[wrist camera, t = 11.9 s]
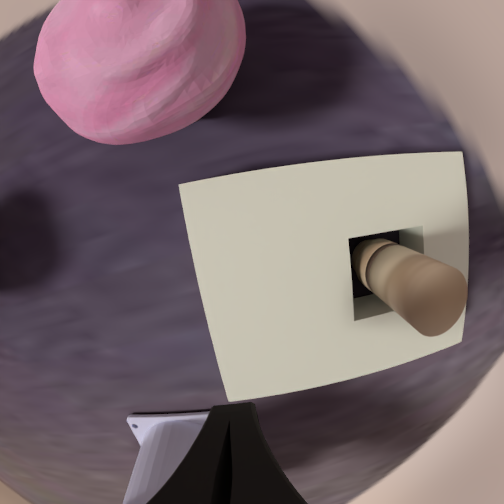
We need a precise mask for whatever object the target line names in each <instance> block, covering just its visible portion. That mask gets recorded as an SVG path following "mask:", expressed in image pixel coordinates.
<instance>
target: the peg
mask: <svg viewBox="0 0 504 504" xmlns="http://www.w3.org/2000/svg"><path fill="white" fill-rule="evenodd" d="M351 261H352V266H353V269H354V270H355V272H356V274H357V277H358V279H359V280H360V282H361V283H362V284H363V285H364V286H366V287H367V288H368V289H369V290H370V291H372V292H373V293H374V294H375V295H376V296H378V297H379V298H380V299H381V300H382V301H383V302H385V303H386V304H387V305H388V306H389V307H390V308H392V309H393V310H394V311H395V312H396V313H397V314H399V315H400V316H401V317H402V318H403V319H404V320H406V321H407V322H408V323H409V324H410V325H411V326H412V327H414V328H415V329H416V330H417V331H418V332H419V333H420V334H422V335H424V336H428V337H434V336H438V335H441V334H443V333H445V332H446V331H448V330H449V329H450V328H451V327H452V326H453V325H454V324H455V323H456V322H457V321H458V319H459V318H460V316H461V314H462V312H463V310H464V308H465V305H466V301H467V294H468V289H467V282H466V279H465V277H464V275H463V274H462V273H461V272H460V271H459V270H458V269H456V268H454V267H452V266H449V265H447V264H445V263H442V262H440V261H438V260H435V259H433V258H431V257H428V256H426V255H424V254H421V253H419V252H416V251H414V250H412V249H409V248H407V247H404V246H402V245H399V244H397V243H394V242H392V241H389V240H386V239H375V240H372V239H368V240H364V241H362V242H360V243H359V244H358V245H357V246H356V247H355V249H354V251H353V254H352V259H351Z"/></svg>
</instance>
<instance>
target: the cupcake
mask: <svg viewBox="0 0 504 504" xmlns="http://www.w3.org/2000/svg"><path fill="white" fill-rule="evenodd" d="M245 43H246V31H245V21H244V17H243V13H242V10H241V7H240V5H239V3H238V0H60V1H59V2H58V3H57V5H56V6H55V7H54V8H53V10H52V11H51V13H50V14H49V15H48V17H47V19H46V21H45V23H44V25H43V27H42V29H41V32H40V35H39V38H38V43H37V48H36V54H35V60H34V75H35V77H36V80H37V83H38V86H39V89H40V91H41V94H42V96H43V98H44V99H45V101H46V102H47V103H48V104H49V106H50V107H51V108H52V109H53V110H54V111H55V112H56V113H57V115H58V116H59V117H60V118H61V119H62V120H63V121H64V122H65V123H66V124H67V125H68V126H69V127H70V128H71V129H72V130H73V131H75V132H76V133H78V134H80V135H81V136H83V137H85V138H88V139H90V140H93V141H96V142H99V143H106V144H113V145H121V144H132V143H138V142H143V141H147V140H151V139H155V138H158V137H161V136H164V135H168V134H170V133H173V132H175V131H178V130H180V129H182V128H184V127H186V126H188V125H190V124H192V123H194V122H195V121H198V120H199V119H200V118H201V117H202V116H204V115H205V114H206V113H208V112H209V111H210V110H211V109H212V108H213V107H215V106H216V105H217V103H218V102H219V101H220V100H221V99H222V98H223V97H224V95H225V94H226V93H227V91H228V90H229V88H230V86H231V85H232V83H233V81H234V79H235V77H236V74H237V72H238V70H239V67H240V64H241V62H242V58H243V55H244V51H245Z"/></svg>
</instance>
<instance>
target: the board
mask: <svg viewBox="0 0 504 504" xmlns="http://www.w3.org/2000/svg"><path fill="white" fill-rule="evenodd" d="M179 189H180V195H181V200H182V206H183V211H184V216H185V222H186V227H187V232H188V237H189V242H190V247H191V251H192V256H193V261H194V266H195V270H196V275H197V279H198V284H199V288H200V293H201V297H202V301H203V306H204V310H205V314H206V318H207V322H208V326H209V330H210V334H211V338H212V342H213V346H214V350H215V354H216V358H217V361H218V365H219V369H220V373H221V376H222V380H223V384H224V387H225V391H226V394H227V398H228V401H229V402H231V401H239V400H246V399H253V398H260V397H267V396H273V395H278V394H284V393H290V392H295V391H300V390H305V389H310V388H314V387H319V386H323V385H328V384H332V383H336V382H340V381H344V380H348V379H352V378H356V377H359V376H363V375H367V374H370V373H374V372H377V371H381V370H384V369H387V368H390V367H394V366H397V365H400V364H403V363H406V362H409V361H412V360H415V359H418V358H420V357H423V356H426V355H429V354H431V353H434V352H437V351H439V350H442V349H445V348H447V347H450V346H452V345H455V344H457V343H459V342H461V341H462V334H463V327H464V319H465V310H466V305H465V308H464V310H463V312H462V314H461V316H460V318H459V319H458V321H457V322H456V323H455V324H454V325H453V326H452V327H451V328H450V329H449V330H448V331H446V332H445V333H443V334H441V335H438V336H434V337H428V336H424V335H422V334H420V333H419V332H418V331H417V330H416V329H415V328H414V327H412V326H411V325H410V324H409V323H408V322H407V321H406V320H404V319H403V318H402V317H401V316H400V315H399V314H397V313H396V312H395V311H394V310H393V309H392V308H390V307H389V306H388V305H387V304H386V303H385V302H383V301H382V300H381V299H380V298H379V297H378V296H376V295H375V294H371V295H367V296H362V297H358V298H354V299H353V290H352V276H351V263H350V252H349V241H348V238H354V237H360V236H366V235H371V234H377V233H383V232H388V231H394V230H399V242H400V245H402V246H404V247H407V248H409V249H412V250H414V251H416V252H419V253H421V254H424V255H426V256H428V257H431V258H433V259H435V260H438V261H440V262H442V263H445V264H447V265H449V266H452V267H454V268H456V269H458V270H459V271H460V272H461V273H462V274H463V275H464V277H465V279H466V282H467V286H468V266H469V222H468V202H467V189H466V179H465V170H464V162H463V154H462V152H430V153H409V154H393V155H379V156H367V157H356V158H346V159H336V160H327V161H319V162H310V163H303V164H295V165H288V166H281V167H274V168H267V169H261V170H254V171H248V172H242V173H237V174H231V175H225V176H220V177H214V178H209V179H204V180H199V181H194V182H189V183H184V184H179Z"/></svg>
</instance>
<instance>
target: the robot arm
mask: <svg viewBox="0 0 504 504" xmlns="http://www.w3.org/2000/svg"><path fill="white" fill-rule="evenodd" d="M127 422H128V424H129V426H130V427H131V429H132V431H133V433H134V435H135V437H136V438H137V440H138V442H139V444H140V445H141V448H140V451H139V454H138V457H137V460H136V463H135V466H134V469H133V472H132V475H131V479H130V482H129V485H128V488H127V491H126V494H125V498H124V501H123V504H307V502H306V501H305V500H304V499H303V498H302V496H301V495H300V494H299V493H298V492H297V490H296V489H295V488H294V486H293V485H292V484H291V482H290V481H289V480H288V478H287V477H286V475H285V474H284V472H283V471H282V469H281V468H280V466H279V464H278V463H277V461H276V459H275V458H274V456H273V454H272V452H271V450H270V448H269V446H268V444H267V442H266V440H265V438H264V436H263V434H262V431H261V429H260V426H259V421H258V417H257V412H256V407H255V404H253V403H252V402H248V403H239V404H229V405H218V406H213V407H212V408H211V410H210V411H208V412H195V413H179V414H153V415H129V416H128V418H127ZM135 424H136V425H135Z"/></svg>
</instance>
